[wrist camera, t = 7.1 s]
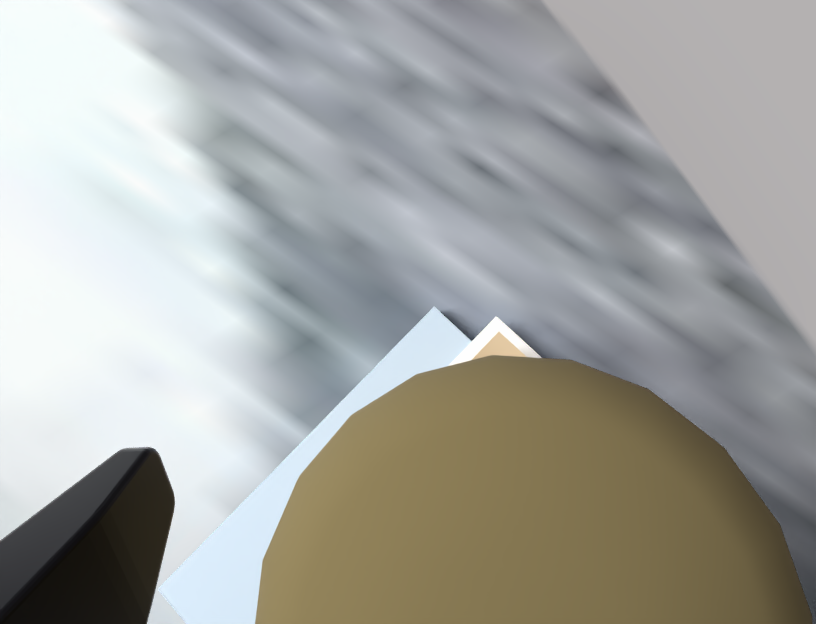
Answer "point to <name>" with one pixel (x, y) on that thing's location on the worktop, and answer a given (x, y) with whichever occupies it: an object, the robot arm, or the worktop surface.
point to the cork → (525, 511)
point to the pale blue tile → (261, 511)
